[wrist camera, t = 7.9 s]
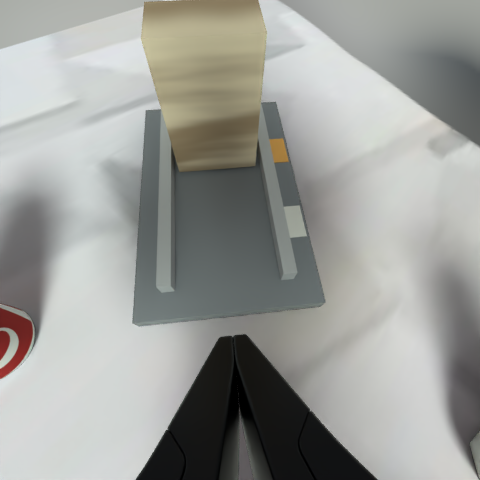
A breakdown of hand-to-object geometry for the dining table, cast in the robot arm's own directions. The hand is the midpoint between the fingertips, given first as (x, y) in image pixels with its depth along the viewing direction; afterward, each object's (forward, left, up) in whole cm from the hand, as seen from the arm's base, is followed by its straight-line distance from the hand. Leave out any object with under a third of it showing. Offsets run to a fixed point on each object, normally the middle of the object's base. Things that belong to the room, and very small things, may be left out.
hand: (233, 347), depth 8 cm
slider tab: (+13, -13, -10) cm, 21 cm away
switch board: (+10, -10, -12) cm, 19 cm away
